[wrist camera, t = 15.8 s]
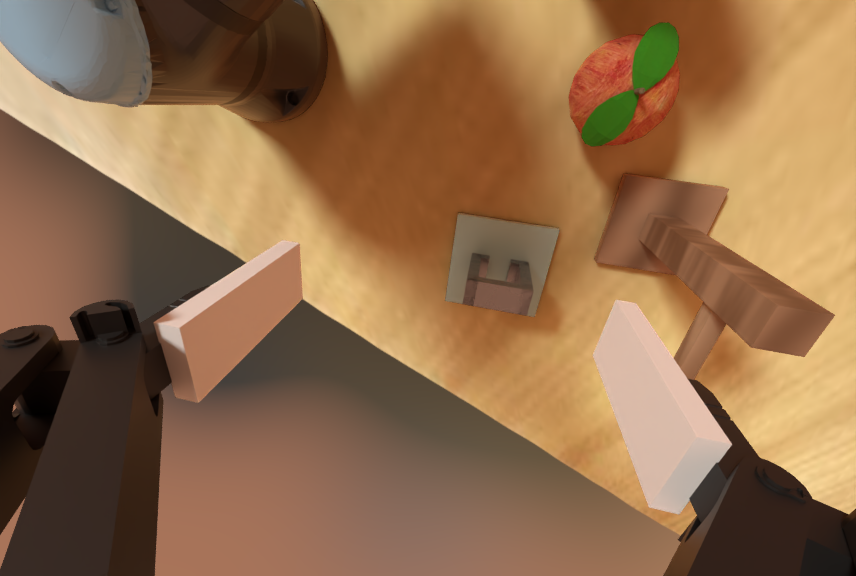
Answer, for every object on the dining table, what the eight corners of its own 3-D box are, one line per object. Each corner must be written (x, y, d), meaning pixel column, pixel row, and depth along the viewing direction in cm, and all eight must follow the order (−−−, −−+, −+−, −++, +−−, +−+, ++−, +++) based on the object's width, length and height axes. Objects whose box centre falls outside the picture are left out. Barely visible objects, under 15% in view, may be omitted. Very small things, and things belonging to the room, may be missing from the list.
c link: (468, 274, 47) (462, 303, 40) (472, 252, 45) (466, 279, 38) (523, 283, 46) (527, 315, 39) (528, 262, 44) (533, 291, 37)
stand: (575, 311, 47) (627, 454, 28) (623, 173, 39) (743, 238, 20) (656, 325, 46) (768, 484, 27) (722, 186, 38) (953, 270, 19)
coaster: (445, 298, 50) (445, 300, 49) (458, 212, 44) (457, 214, 43) (534, 314, 48) (534, 317, 48) (558, 228, 43) (559, 230, 42)
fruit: (679, 79, 35) (740, 70, 26) (600, 163, 39) (629, 179, 30) (614, 17, 34) (654, -14, 25) (540, 110, 38) (551, 111, 29)
